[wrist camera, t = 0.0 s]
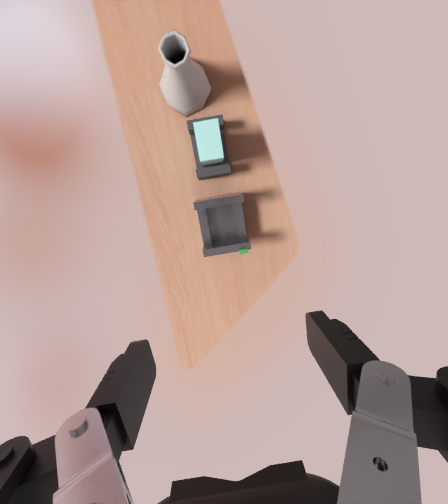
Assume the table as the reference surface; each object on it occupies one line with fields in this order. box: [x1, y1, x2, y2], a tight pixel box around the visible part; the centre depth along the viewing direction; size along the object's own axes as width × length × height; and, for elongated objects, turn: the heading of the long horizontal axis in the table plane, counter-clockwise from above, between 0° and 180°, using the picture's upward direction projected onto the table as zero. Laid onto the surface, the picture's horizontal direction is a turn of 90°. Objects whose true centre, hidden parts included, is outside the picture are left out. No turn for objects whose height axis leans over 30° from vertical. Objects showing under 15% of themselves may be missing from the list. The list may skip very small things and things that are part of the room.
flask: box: [158, 30, 212, 117], centre depth 29 cm, size 7×7×10 cm
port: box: [193, 193, 251, 257], centre depth 36 cm, size 8×7×7 cm
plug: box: [193, 118, 224, 167], centre depth 32 cm, size 4×3×8 cm
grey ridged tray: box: [187, 115, 231, 180], centre depth 35 cm, size 8×5×4 cm, turn 10°
